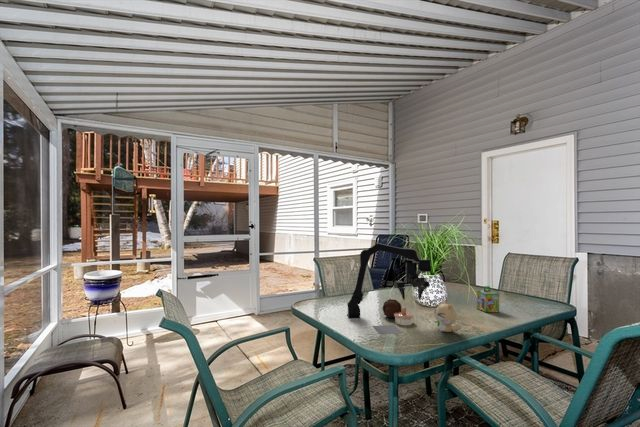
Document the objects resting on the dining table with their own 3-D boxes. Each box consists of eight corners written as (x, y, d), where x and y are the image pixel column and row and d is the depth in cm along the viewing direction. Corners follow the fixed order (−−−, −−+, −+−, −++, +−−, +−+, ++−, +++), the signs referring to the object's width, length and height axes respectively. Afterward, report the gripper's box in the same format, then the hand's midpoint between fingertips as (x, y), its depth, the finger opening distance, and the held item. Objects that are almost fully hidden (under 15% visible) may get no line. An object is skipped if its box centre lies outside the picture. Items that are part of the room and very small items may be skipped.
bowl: (399, 326, 165) (399, 319, 165) (392, 321, 173) (392, 313, 174) (415, 325, 166) (415, 318, 166) (408, 320, 175) (408, 313, 175)
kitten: (429, 326, 165) (429, 297, 166) (447, 325, 166) (447, 297, 166) (442, 336, 150) (442, 305, 151) (462, 336, 151) (462, 305, 151)
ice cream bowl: (402, 316, 185) (402, 321, 171) (383, 315, 188) (381, 319, 174) (402, 298, 187) (402, 301, 172) (383, 297, 190) (381, 299, 175)
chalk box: (486, 313, 187) (486, 288, 188) (476, 309, 196) (476, 285, 197) (500, 312, 189) (499, 287, 189) (489, 308, 198) (488, 284, 198)
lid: (398, 319, 164) (398, 311, 164) (391, 313, 174) (391, 305, 174) (417, 318, 165) (417, 310, 166) (408, 312, 176) (408, 304, 176)
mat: (379, 335, 152) (379, 334, 152) (372, 327, 164) (372, 326, 164) (403, 334, 154) (403, 332, 154) (393, 325, 166) (393, 324, 166)
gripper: (401, 274, 165) (401, 304, 164) (434, 273, 168) (434, 302, 167) (393, 270, 176) (393, 298, 175) (424, 269, 179) (424, 297, 178)
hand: (411, 299), depth 174 cm, fingers open, 9 cm apart
